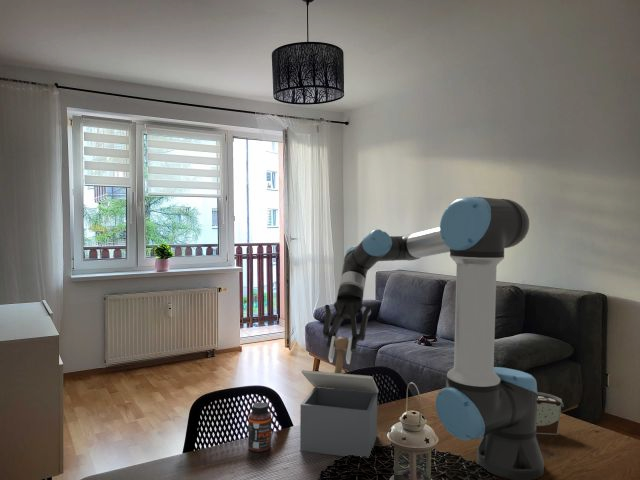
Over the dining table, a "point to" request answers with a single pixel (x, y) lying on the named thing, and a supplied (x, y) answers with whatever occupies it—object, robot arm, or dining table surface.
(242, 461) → the dining table surface
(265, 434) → the supplement bottle
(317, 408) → the grey box
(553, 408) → the food container
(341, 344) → the lid
